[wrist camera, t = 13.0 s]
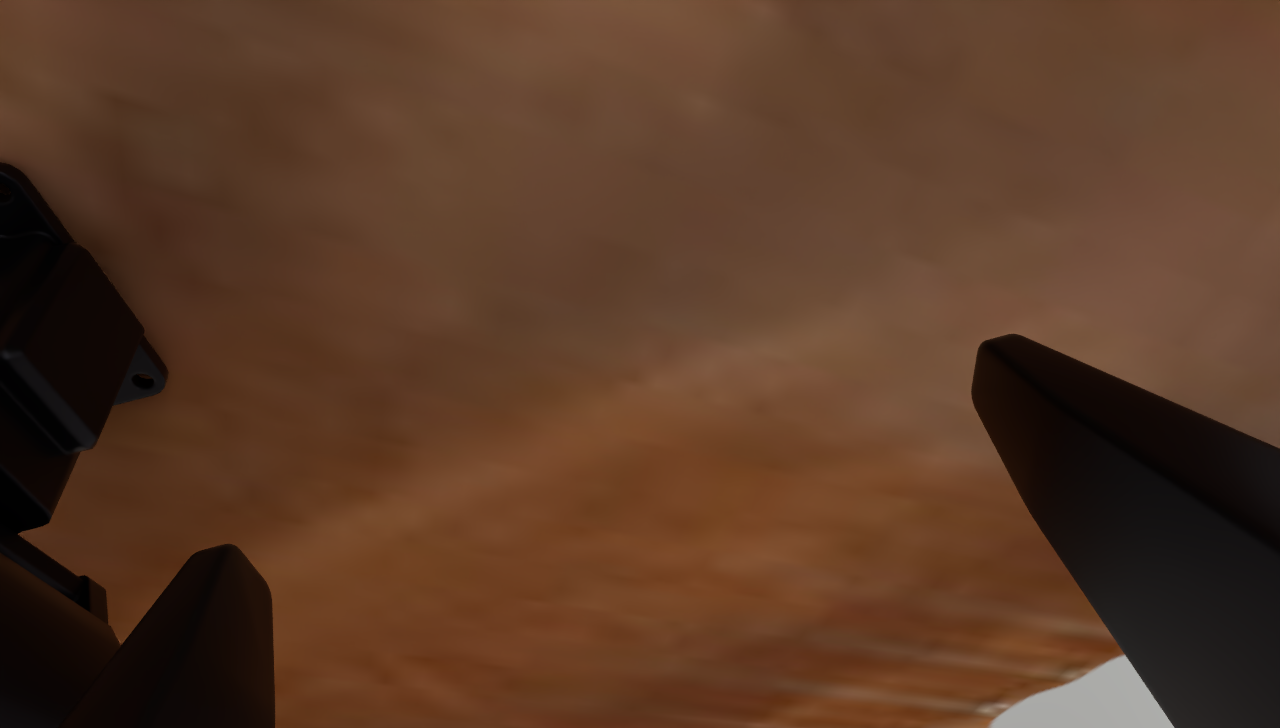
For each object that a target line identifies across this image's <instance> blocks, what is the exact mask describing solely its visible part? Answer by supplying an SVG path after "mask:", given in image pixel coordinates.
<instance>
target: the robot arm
mask: <svg viewBox="0 0 1280 728" xmlns="http://www.w3.org/2000/svg"><path fill="white" fill-rule="evenodd" d="M0 183H2V184H4V185H5V186H6V187H7V188H9V190H10V192H11V194H3V193H1V192H0V728H275V684H274V650H273V615H272V597H271V592H270V589H269V587H268V585H267V583H266V581H265V580H264V578H263V577H262V576H261V575H260V573H259V572H258V571H257V570H256V569H255V567H254V566H253V565H252V564H251V562H250V561H249V560H248V559H247V557H246V556H245V555H244V554H243V553H242V551H241V550H240V549H239V548H238V547H237V546H235V545H233V544H224V545H220V546H216V547H212V548H209V549H205V550H201V551H198V552H196V553H195V554H193V555H192V556H191V557H190V558H189V559H188V560H187V562H186V563H185V564H184V566H183V567H182V568H181V569H180V571H179V572H178V573H177V575H176V576H175V577H174V578H173V580H172V581H171V582H170V584H169V585H168V586H167V587H166V589H165V590H164V591H163V593H162V594H161V595H160V596H159V598H158V599H157V600H156V602H155V603H154V604H153V605H152V607H151V608H150V609H149V611H148V612H147V613H146V614H145V616H144V617H143V618H142V620H141V621H140V622H139V623H138V625H137V626H136V627H135V629H134V630H133V631H132V632H131V634H130V635H129V636H128V638H127V639H126V640H125V641H124V643H123V644H122V645H120V643H119V641H118V639H117V638H116V636H115V634H114V632H113V630H112V628H111V626H109V625H108V614H107V598H106V590H105V589H104V588H103V587H102V586H100V585H99V584H97V583H96V582H94V581H93V580H92V579H90V578H89V577H87V576H85V575H84V576H79V577H78V576H76V575H75V574H74V573H72V572H71V571H69V570H68V569H66V568H65V567H64V566H62V565H61V564H59V563H58V562H56V561H55V560H54V559H52V558H51V557H49V556H48V555H46V554H45V553H44V552H42V551H41V550H39V549H38V548H36V547H35V546H34V545H32V544H31V543H29V542H28V541H26V540H25V539H23V538H22V537H21V536H19V535H18V533H20V532H22V531H26V530H30V529H34V528H37V527H41V526H44V525H46V524H48V523H49V522H50V519H51V517H52V515H53V513H54V510H55V508H56V506H57V504H58V501H59V499H60V497H61V495H62V492H63V490H64V488H65V486H66V483H67V481H68V479H69V477H70V474H71V472H72V470H73V468H74V465H75V463H76V461H77V459H78V456H79V454H80V452H81V451H85V450H89V449H93V447H94V446H95V445H96V443H97V441H98V439H99V436H100V434H101V432H102V429H103V427H104V425H105V422H106V420H107V418H108V415H109V413H110V411H111V408H112V406H114V405H118V404H121V403H125V402H129V401H133V400H137V399H141V398H145V397H149V396H153V395H155V394H158V393H160V392H161V391H162V390H163V388H164V387H165V384H166V381H167V379H168V373H169V372H168V370H167V368H166V366H165V364H164V363H163V362H162V360H161V359H160V358H159V356H158V355H157V353H156V352H155V351H154V349H153V348H152V347H151V345H150V344H149V343H148V341H147V340H146V338H145V337H144V336H143V333H144V328H143V326H142V325H141V324H140V322H139V321H138V319H137V318H136V317H135V315H134V314H133V313H132V311H131V310H130V308H129V307H128V306H127V304H126V303H125V302H124V300H123V299H122V297H121V296H120V295H119V293H118V292H117V291H116V289H115V288H114V286H113V285H112V284H111V282H110V281H109V280H108V278H107V277H106V275H105V274H104V273H103V271H102V270H101V269H100V267H99V266H98V264H97V263H96V262H95V260H94V259H93V258H92V256H91V255H90V253H89V252H88V251H87V250H86V249H85V248H83V247H81V246H80V245H78V244H76V243H75V242H74V240H73V239H72V238H71V236H70V235H69V234H68V232H67V231H66V229H65V228H64V227H63V225H62V224H61V223H60V221H59V220H58V219H57V217H56V216H55V214H54V213H53V212H52V210H51V209H50V208H49V206H48V205H47V204H46V202H45V201H44V199H43V198H42V197H41V195H40V194H39V193H38V191H37V190H36V189H35V187H34V186H33V184H32V183H31V182H30V180H29V179H28V178H27V177H26V176H25V175H24V174H23V173H22V172H21V171H20V170H18V169H17V168H15V167H13V166H11V165H9V164H5V163H1V162H0ZM137 374H146V375H149V376H150V377H152V378H153V379H145V378H142V377H140V376H139V375H137ZM971 393H972V400H973V404H974V407H975V409H976V411H977V413H978V415H979V417H980V419H981V421H982V423H983V425H984V427H985V429H986V430H987V432H988V434H989V436H990V438H991V440H992V442H993V444H994V446H995V448H996V450H997V452H998V453H999V455H1000V457H1001V459H1002V461H1003V463H1004V465H1005V467H1006V469H1007V471H1008V473H1009V475H1010V477H1011V478H1012V480H1013V482H1014V484H1015V486H1016V488H1017V490H1018V492H1019V494H1020V496H1021V498H1022V499H1023V501H1024V503H1025V505H1026V506H1027V508H1028V510H1029V512H1030V513H1031V515H1032V517H1033V518H1034V520H1035V521H1036V523H1037V524H1038V526H1039V528H1040V529H1041V531H1042V532H1043V534H1044V535H1045V537H1046V538H1047V540H1048V541H1049V542H1050V544H1051V545H1052V547H1053V548H1054V550H1055V551H1056V553H1057V554H1058V556H1059V557H1060V559H1061V560H1062V562H1063V563H1064V565H1065V566H1066V568H1067V569H1068V571H1069V572H1070V574H1071V575H1072V577H1073V578H1074V580H1075V581H1076V582H1077V584H1078V585H1079V587H1080V588H1081V590H1082V591H1083V593H1084V594H1085V596H1086V597H1087V599H1088V600H1089V602H1090V603H1091V605H1092V606H1093V608H1094V609H1095V611H1096V612H1097V614H1098V615H1099V617H1100V618H1101V620H1102V621H1103V622H1104V624H1105V625H1106V627H1107V628H1108V630H1109V631H1110V633H1111V634H1112V636H1113V637H1114V639H1115V640H1116V642H1117V643H1118V645H1119V646H1120V648H1121V649H1122V651H1123V652H1124V654H1125V655H1126V657H1127V658H1128V659H1129V661H1130V662H1131V664H1132V665H1133V667H1134V668H1135V670H1136V671H1137V673H1138V674H1139V676H1140V677H1141V679H1142V680H1143V682H1144V683H1145V685H1146V686H1147V688H1148V689H1149V691H1150V692H1151V694H1152V695H1153V696H1154V698H1155V700H1156V701H1157V702H1158V704H1159V705H1160V707H1161V708H1162V710H1163V711H1164V713H1165V714H1166V716H1167V717H1168V719H1169V720H1170V722H1171V723H1172V725H1173V726H1174V727H1175V728H1280V449H1279V448H1277V447H1275V446H1272V445H1270V444H1268V443H1266V442H1263V441H1261V440H1259V439H1256V438H1254V437H1252V436H1250V435H1247V434H1245V433H1243V432H1240V431H1238V430H1236V429H1234V428H1231V427H1229V426H1227V425H1224V424H1222V423H1220V422H1218V421H1215V420H1213V419H1211V418H1208V417H1206V416H1204V415H1202V414H1199V413H1197V412H1195V411H1192V410H1190V409H1188V408H1186V407H1183V406H1181V405H1179V404H1176V403H1174V402H1172V401H1170V400H1167V399H1165V398H1163V397H1160V396H1158V395H1156V394H1154V393H1151V392H1149V391H1147V390H1145V389H1142V388H1140V387H1138V386H1135V385H1133V384H1131V383H1129V382H1126V381H1124V380H1122V379H1119V378H1117V377H1115V376H1113V375H1110V374H1108V373H1106V372H1103V371H1101V370H1099V369H1097V368H1094V367H1092V366H1090V365H1087V364H1085V363H1083V362H1081V361H1078V360H1076V359H1074V358H1071V357H1069V356H1067V355H1065V354H1062V353H1060V352H1058V351H1055V350H1053V349H1051V348H1049V347H1046V346H1044V345H1042V344H1040V343H1037V342H1035V341H1033V340H1030V339H1028V338H1026V337H1024V336H1021V335H1018V334H1008V335H1004V336H1000V337H997V338H993V339H989V340H986V341H984V342H982V343H981V345H980V346H979V348H978V351H977V357H976V364H975V370H974V376H973V383H972V391H971Z"/></svg>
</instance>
